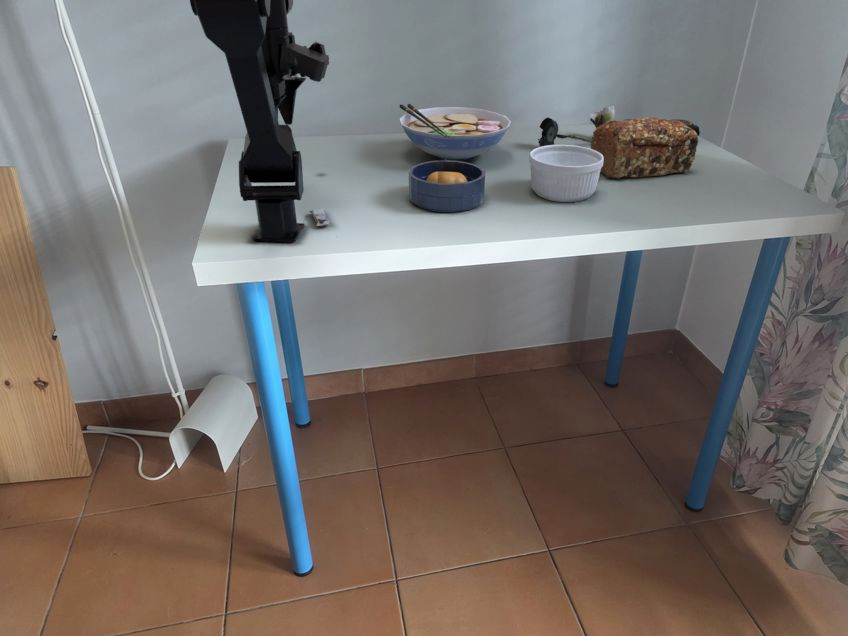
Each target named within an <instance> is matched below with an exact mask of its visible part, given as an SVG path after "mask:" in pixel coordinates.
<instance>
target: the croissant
mask: <svg viewBox="0 0 848 636" xmlns="http://www.w3.org/2000/svg"><path fill="white" fill-rule="evenodd" d="M426 181H428V182H434V183H446V184H454V183H464V182H467V179H466V178H465V176H464V175H463V174H461V173H458V172H434V173H432V174H430V175H429V176H428V178H427V180H426Z"/></svg>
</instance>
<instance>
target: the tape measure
mask: <svg viewBox="0 0 848 636" xmlns="http://www.w3.org/2000/svg"><path fill="white" fill-rule="evenodd" d="M673 119H674V120H677V121H680V122H682V123H684V124H686V125H687V126H688V127H690V128H692V129H693V130H694V131H695V132H696V133H697V137H699V136H700V133H701V131H700V127H699V126H698V125H696V124H694V122H692V121H689V120H686V119H680V118H679V119H677V118H673Z"/></svg>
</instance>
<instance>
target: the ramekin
mask: <svg viewBox="0 0 848 636" xmlns="http://www.w3.org/2000/svg"><path fill="white" fill-rule="evenodd" d="M528 162H529V164H530V182H531V183H530V184H531V188H532V190H533V192H535V194H536V195H537V196H539V197H540V198H541V199H545V200H549V201H552V202H557V203H559V202H560V203H575V202H581V201H584V200H587V199H589V198H591V196H592V195H593V194H594V193H595V191H596V190H597V186H598V184H599V183H598V182H599V179H600V174H601V172H600V171H601V168H602V166H603V162H604V157H603V155H602V154H601V153H599V152H597V151H595V150H593V149H591V147H585V146H581V145H573V144H555V145H548V146H542V147H540V146H539V147H535V148H534V149H532V150H531V151H530V153H529V158H528Z"/></svg>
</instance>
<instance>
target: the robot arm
mask: <svg viewBox="0 0 848 636" xmlns="http://www.w3.org/2000/svg"><path fill="white" fill-rule="evenodd" d="M189 4H190V7H191V11H192V13H193V15H194V16H196V17H197V18H198V20H199V22H200V25H201V29H202V31H203V33H204V37H206V39H208V40H209V41H210V42H211V43H212V44H214V45H215V46H216V47H217V48H218V49H219V50H220V51H222V52H223V53H224V56H225V59H226V62H227V66H228V70H229V73H230V76H231V81H232V83H233V87H234V91H235V94H236V98H237V101H238V104H239V109H240V112H241V115H242V118H243V121H244V126H245V129H246V134H245V136H244V145H243V151H242V152H241V154H240V155H241V157H240V159H239V161H238V185H239V186H238V187H239V193H240V198H242V201H243V202H248V201H254V202H255V208H256V215H257V222H258V227H259V228H258V229H257V231H256V232H255V233H254V234H253V236H252V241H254V242H276V243H295V242H296V241H297V239H299V237H300V234H301V233H302V232H303V230H304V228H305V224H304V223H303V222H298V221H297V211H296V204H295V201H301V200H302V197H303V194H304V189H305V187H304V175H303V160H302V159H303V158H302V154H301V150H297V146H296V143H295V139H294V136H293V131H292V128H291V127H290V125H292V124H293V121H294V112H295V107H296V106H295V105H296V100H297V99H296V98H297V91H298V89H299V88H300V87H301V86H302V84H303V83H304V82H306V80H307V78H309V80H310V81H314V82H317V83H321V81H322V80H323V79H325V77H326V73H327V69H328V66H329V65H330V55H329V54H327V53H326V48H325V45H324V44H323V43H320V42H318V41H314V42H312V44H311V45H310V46H309V47H307V45H300V44H297V43H296V37H295V35H294V34H293V32H291V31H289V24H288V15H289V13H291V11H292V9H293V6H294V0H189ZM298 75H300V76H298ZM279 114H280V116H281V118H282V120H283V123H284V124H280V123H279ZM278 183H279V184H281V185H252V184H278ZM289 183H290V185H289ZM291 183H294V185H293V184H292V185H291ZM282 184H287V185H282Z"/></svg>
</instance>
